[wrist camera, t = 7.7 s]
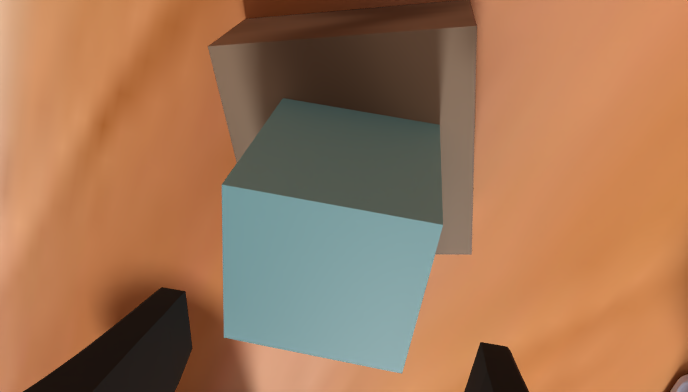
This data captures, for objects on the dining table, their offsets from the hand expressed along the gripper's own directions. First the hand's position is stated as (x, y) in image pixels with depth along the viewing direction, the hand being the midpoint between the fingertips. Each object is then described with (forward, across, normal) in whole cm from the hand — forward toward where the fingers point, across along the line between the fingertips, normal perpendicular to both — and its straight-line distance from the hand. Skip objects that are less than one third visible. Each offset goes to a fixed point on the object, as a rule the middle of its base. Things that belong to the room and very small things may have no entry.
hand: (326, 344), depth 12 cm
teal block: (+6, 0, -1) cm, 6 cm away
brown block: (+10, 0, -2) cm, 11 cm away
